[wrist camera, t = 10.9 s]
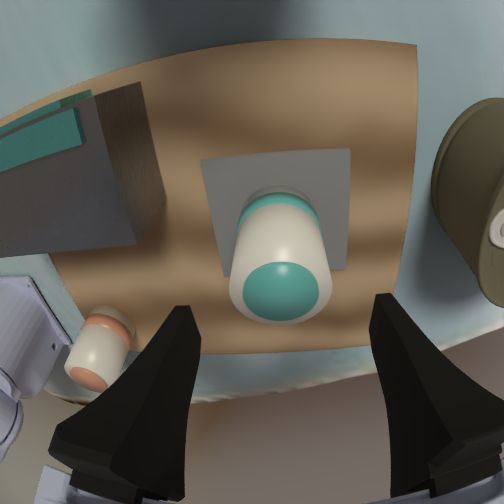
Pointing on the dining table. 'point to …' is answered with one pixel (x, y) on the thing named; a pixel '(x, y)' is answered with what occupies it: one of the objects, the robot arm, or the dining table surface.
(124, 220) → the box
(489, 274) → the can
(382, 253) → the board
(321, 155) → the mat
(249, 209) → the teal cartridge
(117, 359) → the cylinder
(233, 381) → the dining table surface
